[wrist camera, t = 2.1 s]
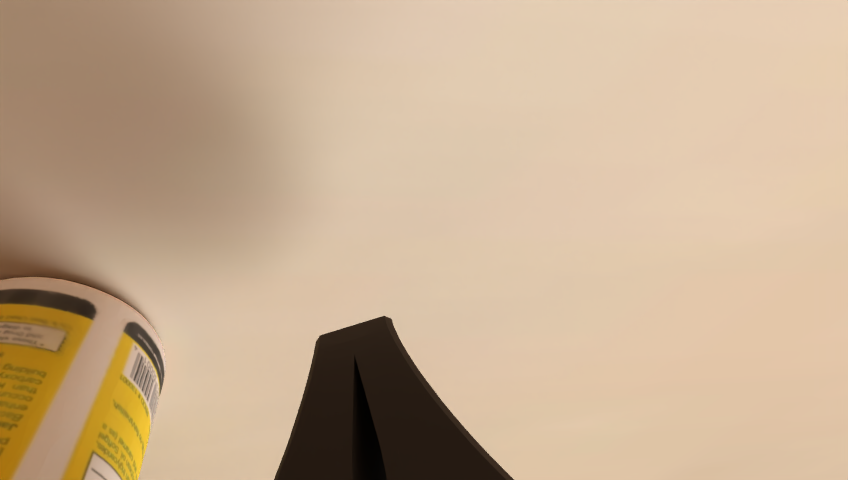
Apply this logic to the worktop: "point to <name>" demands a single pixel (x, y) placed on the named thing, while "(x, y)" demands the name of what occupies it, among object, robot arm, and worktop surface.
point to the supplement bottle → (74, 382)
